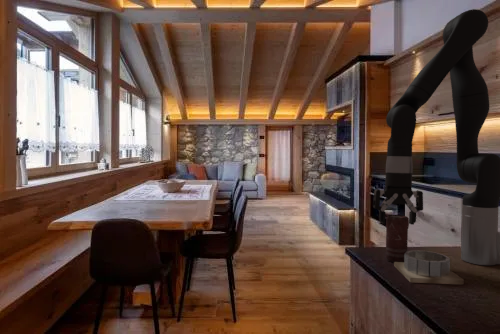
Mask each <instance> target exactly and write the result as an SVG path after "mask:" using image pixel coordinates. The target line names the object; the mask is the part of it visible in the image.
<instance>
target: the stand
mask: <svg viewBox="0 0 500 334" xmlns="http://www.w3.org/2000/svg"><path fill="white" fill-rule="evenodd" d="M393 266H394V267H395V269H396V270H398V272H399V273H400V274H401V275H402V276H403V277H405V279H406V280H407V281H409V283H412V284H415V283H416V284H418V283H419V284H420V283H421V284H443V285H464V281H465V280H464V278H462V277H460V276H459V275H458V274H456V273H455V272H453V271H452V270H450V273H449V276H446V277H426V276H421V275H418V274H417V275H416V274H414V273H411V272H408V271H407V270H406V269H405V268H404V262H394V263H393Z"/></svg>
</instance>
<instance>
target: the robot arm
mask: <svg viewBox="0 0 500 334" xmlns="http://www.w3.org/2000/svg"><path fill="white" fill-rule="evenodd" d="M488 27H489V18H488V16H487V15H486V13H485V12H484V11H482V10H481V9H475V8H474V9H468V10H466V11H463V12H461V13H459V14H458V15H456V16H455V17H453V18H451V20H449V21H447V23H446V24H445V25H444V27H443V31H442V40H443V46H442V47H441V48H440V49H439V50H438V52H436V54H435V55H434V56H433V57H432V58H431V59H430V60H429V61H428V62H427V63H426V64H425V66H423V67H422V69H421V70H419V72H418V73H417V75H416V76H415V77H414V78H413V80H412V82H411V83H410V84H409V86H408V87H407V88H406V90H405V92H404V93H403V94H402V95H401V97H399V99H398V100H397V101H396V103H394V104H393V106H392V107H391V108H390V110H388V113H387V115H386V117H385V120H386V124H387V126H388V127H389V128H390V137H389V139H388V141H387V147H386V162H385V176H384V177H385V179H384V181H385V182H384V183H385V185H384V190H382V189H373V191H374V192H373V199H372V200H373V201H372V207H373V209H375V210H378V221H379V222H380V223H381V224H386V209H388V208H389V206H391V205H392V204H393V205H401V206H402V205H405V206H406V207H407V208H408V209H409V214H408V218H409V225H414V224H415V223H416V222H417V213H418V212H420V211H424V192H423V191H422V190H413V187H412V186H413V172H414V171H413V170H414V168H413V139H414V137H415V130H416V126H417V125H416V124H417V112H418V111H419V109H420V108H421V107H423V106H424V105H426V104H427V103H428V101H429V100H430V98H431V97H432V96H433V94H434V93H435V92H436V91H437V89H438V87H439V86H440V85H441V84H442V82H443V81H444V80H445V78H446V77H447V76H448V74H449V77H450V78H449V79H450V86H451V98H452V109H453V114H454V123H455V135H456V171H457V174H458V177H459V179H461V180H462V181H463V182H465V183H470V184H471V183H472V184H475V186H476V187H475V190H474V191H473V192H471V193H468V194H465V195H463V197H462V209H461V214H462V216H461V246H460V248H461V249H460V259H461V260H462V261H464V262H467V263H470V264H474V265H480V266H497V265H500V231H499V206H500V205H499V204H500V156H499V155H497V154H494V153H479V144H478V143H479V140H478V139H479V134H480V132H481V130H482V127H483V126H484V124H485V121H486V120H487V117H488V114H489V112H490V98H489V97H490V96H489V89H488V84H487V83H486V80H485V79H484V77H483V76H482V74H481V72H480V71H479V69H478V67H477V64H476V63H475V60H474V51H473V49H474V48H473V47H474V45H475V44H477V42H478V41H480V39H481V38H483V36H484V35H485V34H486V31H488ZM383 195H384V197H385V199H384V200H383V201H382V203H381V204H380V201H381V199H380V198H381V197H383ZM412 196H413V197H414V198H415V205H414V203H413V202H412V201H411V198H412Z"/></svg>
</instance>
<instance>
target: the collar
mask: <svg viewBox="0 0 500 334" xmlns="http://www.w3.org/2000/svg"><path fill="white" fill-rule="evenodd" d="M450 262H451V258H450V257H449V256H447V255H446V254H443V253H440V252H435V251H431V250H422V249H420V250H418V249H414V250H413V249H412V250H407V251H406V252H405V254H404V268H405V269H406V270H407V271H408V272H411V273H414V274H416V275H417V274H418V275H421V276H426V277H446V276H449V273H450V271H451V270H450V269H451V268H450V267H451V266H450V265H451V263H450Z"/></svg>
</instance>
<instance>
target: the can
mask: <svg viewBox="0 0 500 334" xmlns="http://www.w3.org/2000/svg"><path fill="white" fill-rule="evenodd" d="M385 224H386V227H385V228H386V230H385V236H386V237H385V259H386V260H387V261H388V262H389V263H393V264H394V262H404V254H405V252H406V251H408V244H409V243H408V241H409V239H408V237H409V236H408V234H409V230H408V229H409V226H410V224H409V216H407V215H402V214H388V215H387V216H386V217H385Z"/></svg>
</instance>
